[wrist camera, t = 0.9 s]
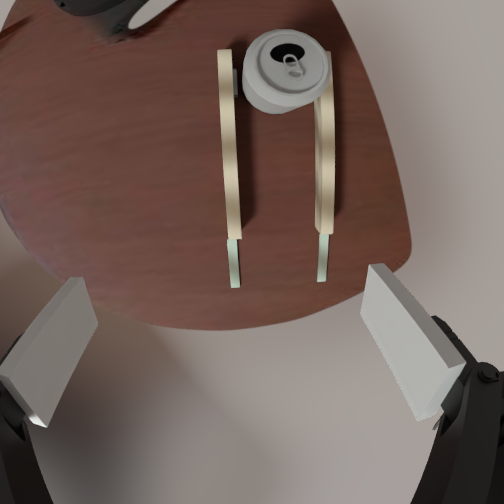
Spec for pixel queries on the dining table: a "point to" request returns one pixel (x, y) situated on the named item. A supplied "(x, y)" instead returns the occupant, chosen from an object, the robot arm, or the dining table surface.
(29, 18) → the dining table surface
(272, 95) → the can
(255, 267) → the dining table surface
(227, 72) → the chute
